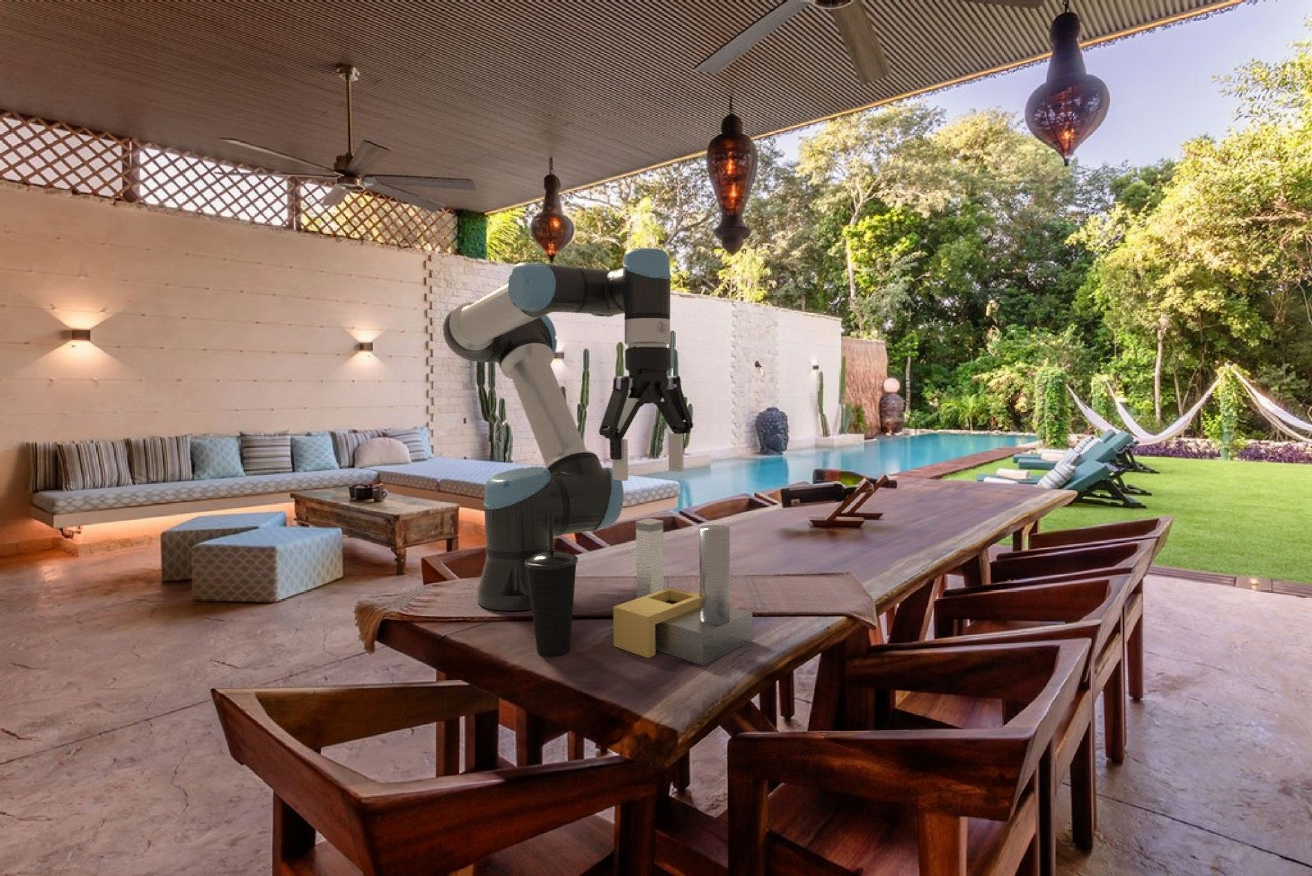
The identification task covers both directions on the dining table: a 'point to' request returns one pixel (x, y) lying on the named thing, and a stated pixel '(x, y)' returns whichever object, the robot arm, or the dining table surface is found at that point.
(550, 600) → the drinking cup
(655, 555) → the pin
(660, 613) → the bracket
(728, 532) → the gray post on base
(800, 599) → the dining table surface
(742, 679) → the dining table surface
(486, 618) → the dining table surface
